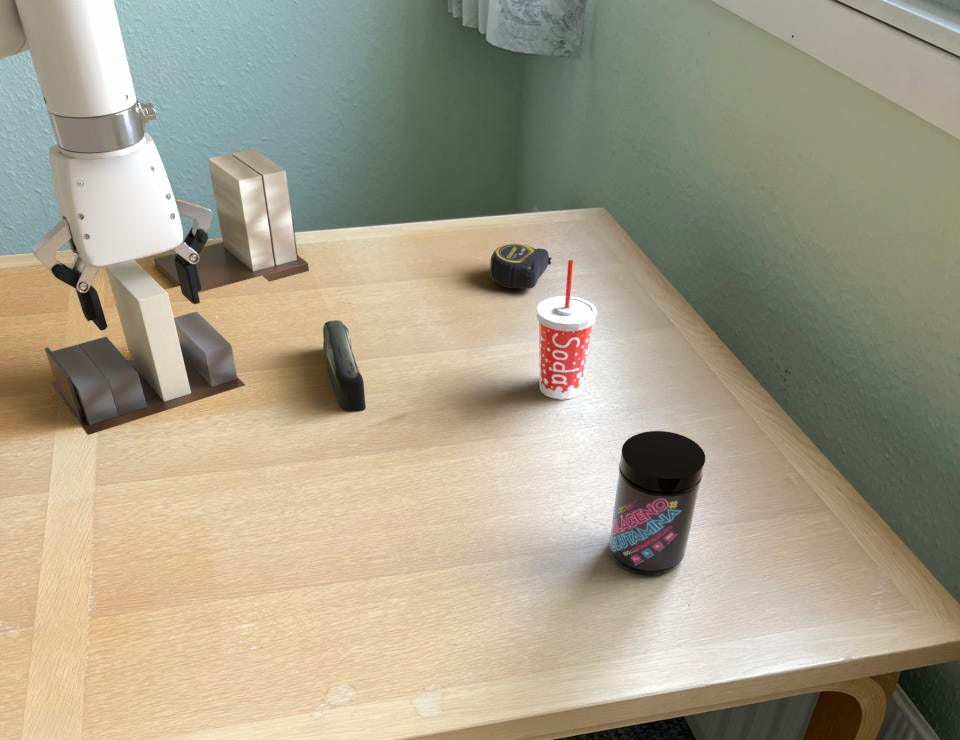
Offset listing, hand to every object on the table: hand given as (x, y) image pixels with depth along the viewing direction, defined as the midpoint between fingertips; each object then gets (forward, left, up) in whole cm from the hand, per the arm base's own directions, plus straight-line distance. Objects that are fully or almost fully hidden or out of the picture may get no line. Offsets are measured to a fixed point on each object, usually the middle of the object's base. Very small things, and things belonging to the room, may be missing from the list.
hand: (146, 311), depth 96 cm
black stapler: (+16, -10, -9) cm, 21 cm away
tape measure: (+47, -1, -9) cm, 48 cm away
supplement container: (+24, -50, -9) cm, 56 cm away
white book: (0, 0, -8) cm, 8 cm away
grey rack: (-2, 0, -9) cm, 9 cm away
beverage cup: (+35, -24, -9) cm, 44 cm away
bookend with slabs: (+18, +23, -9) cm, 31 cm away
